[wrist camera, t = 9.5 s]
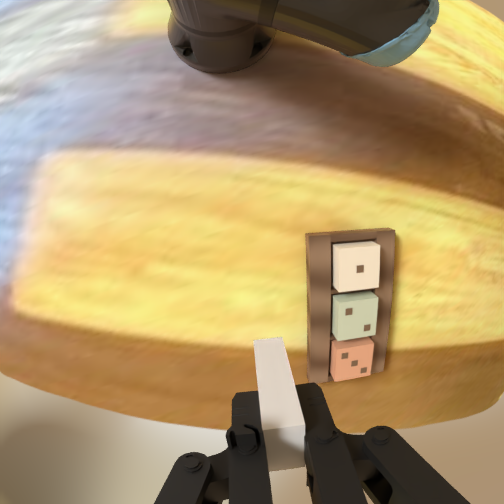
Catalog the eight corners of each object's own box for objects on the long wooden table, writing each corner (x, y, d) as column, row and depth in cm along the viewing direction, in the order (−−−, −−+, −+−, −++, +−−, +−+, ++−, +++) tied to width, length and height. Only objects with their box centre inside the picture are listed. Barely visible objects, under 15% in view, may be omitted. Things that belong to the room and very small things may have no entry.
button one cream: (332, 244, 43) (339, 248, 40) (371, 241, 43) (380, 245, 40) (332, 285, 44) (339, 292, 41) (370, 280, 44) (379, 287, 41)
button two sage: (332, 295, 44) (339, 303, 41) (370, 290, 44) (378, 297, 41) (331, 331, 46) (337, 341, 43) (368, 326, 46) (375, 335, 43)
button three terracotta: (331, 340, 46) (337, 349, 43) (367, 334, 46) (374, 343, 43) (329, 371, 47) (334, 382, 44) (363, 365, 48) (370, 375, 45)
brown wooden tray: (305, 233, 44) (308, 236, 41) (388, 227, 44) (394, 230, 42) (307, 376, 49) (309, 384, 47) (378, 364, 49) (383, 371, 47)
